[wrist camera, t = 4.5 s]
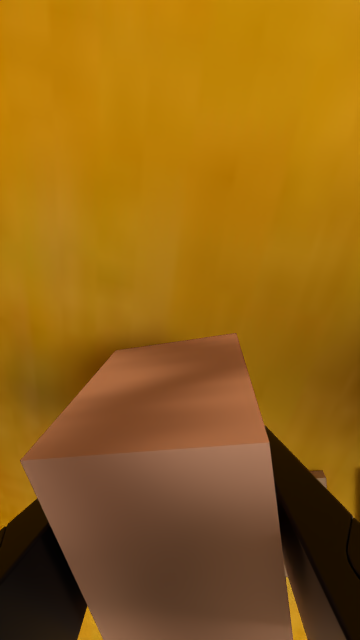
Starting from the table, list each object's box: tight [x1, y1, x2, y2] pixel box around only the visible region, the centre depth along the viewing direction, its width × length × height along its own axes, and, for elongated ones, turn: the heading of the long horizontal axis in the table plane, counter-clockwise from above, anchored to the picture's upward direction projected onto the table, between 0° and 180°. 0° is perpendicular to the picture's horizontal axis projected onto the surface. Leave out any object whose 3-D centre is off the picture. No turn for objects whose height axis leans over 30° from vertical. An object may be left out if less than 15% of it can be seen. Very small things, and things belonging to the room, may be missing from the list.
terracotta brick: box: [20, 333, 293, 640], centre depth 7 cm, size 4×6×5 cm
